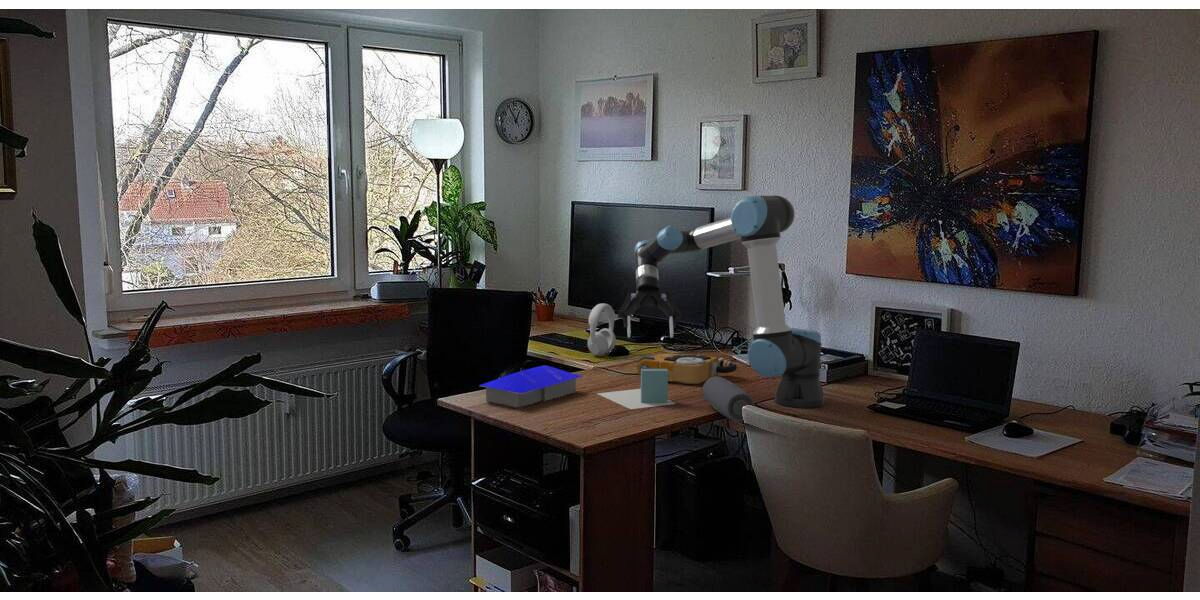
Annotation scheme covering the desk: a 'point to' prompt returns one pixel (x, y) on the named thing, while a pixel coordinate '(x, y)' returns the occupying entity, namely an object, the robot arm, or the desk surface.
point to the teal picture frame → (654, 385)
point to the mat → (630, 399)
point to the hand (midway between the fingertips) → (650, 335)
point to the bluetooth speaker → (726, 397)
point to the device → (687, 366)
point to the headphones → (601, 331)
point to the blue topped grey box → (530, 386)
